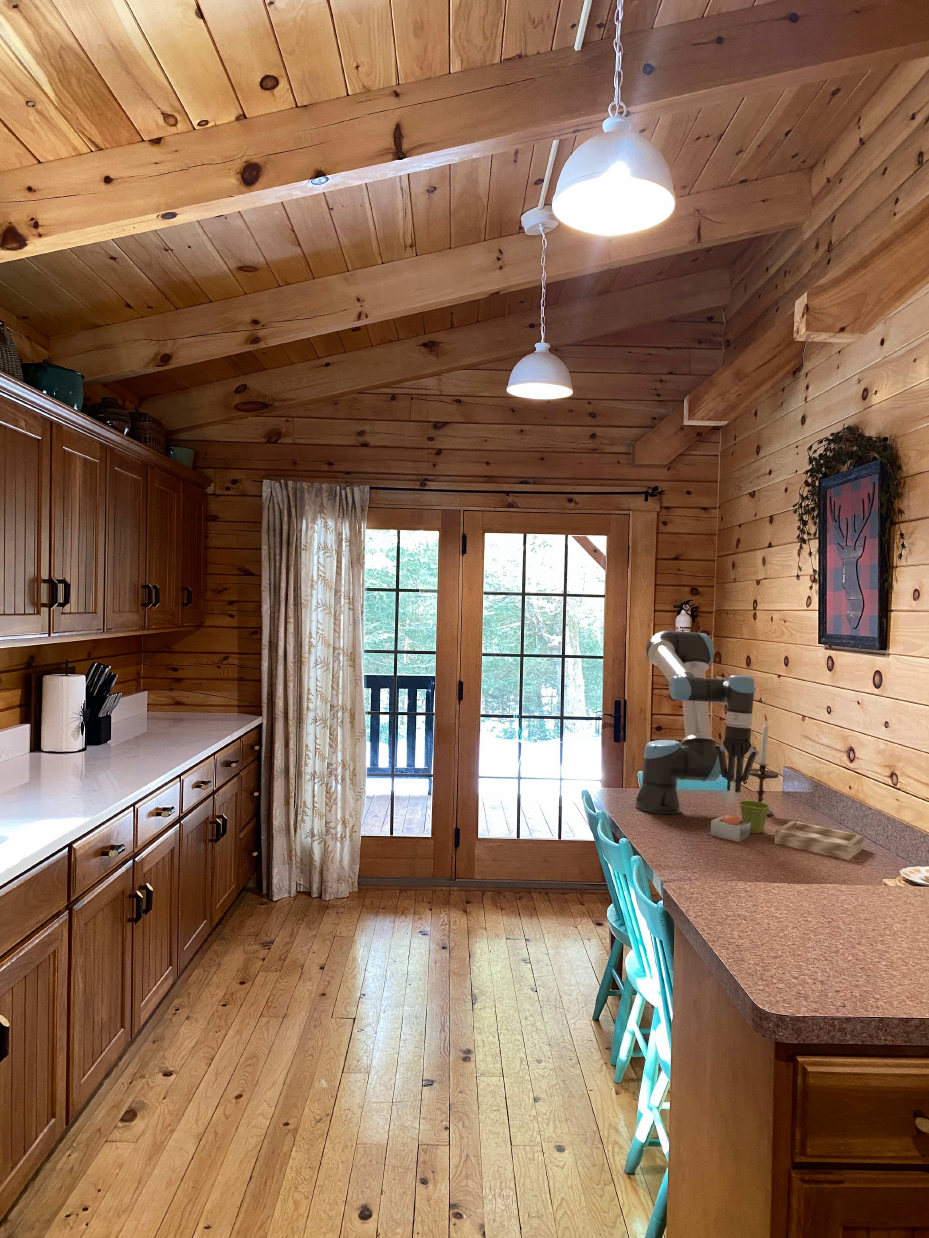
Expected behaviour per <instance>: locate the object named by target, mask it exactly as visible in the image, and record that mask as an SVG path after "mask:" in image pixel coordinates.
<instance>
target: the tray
mask: <svg viewBox="0 0 929 1238" xmlns="http://www.w3.org/2000/svg"><path fill="white" fill-rule="evenodd" d="M774 844H777V845H782V846H786V847H790V848H793V849H794V848H795V849H799V850H803V851H807V852H811V853H815V854H819V855H824V856H828V857H834V858H838V859H843V860H845V861H849V860H852V858H854V856H856V855H857V854H858V853H859V852H861V851H863V849H864V835H863V834H862V835H861V834H858V833H857V834H856V833H852V832H848V831H842V830H838V829H834V828H828V827H825V826H824V827H823V826H819V825H815V824H809V823H805V822H800V821H797V820H796V821H795V820H791V821H790V822H788V823H786V824H783V825H782V826H781V827H778V828H777V829H775V834H774Z"/></svg>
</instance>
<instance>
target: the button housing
mask: <svg viewBox="0 0 929 1238" xmlns="http://www.w3.org/2000/svg"><path fill="white" fill-rule="evenodd" d="M722 820H723V815H722V816H719V817H717V818H715V819H712V820H711V822H710V832H709V833H710V834H709V835H710V836H712V837H717V838H721V839H725V840H728V841H729V840H730V841H734V842H737V843H740V842H741V841H744V840H746V839H748V838H749V837H750V834H751V833H750V822H748V821H743V820H742V819H740V822H739V825H734V824H730V823H725V822H722Z"/></svg>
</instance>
